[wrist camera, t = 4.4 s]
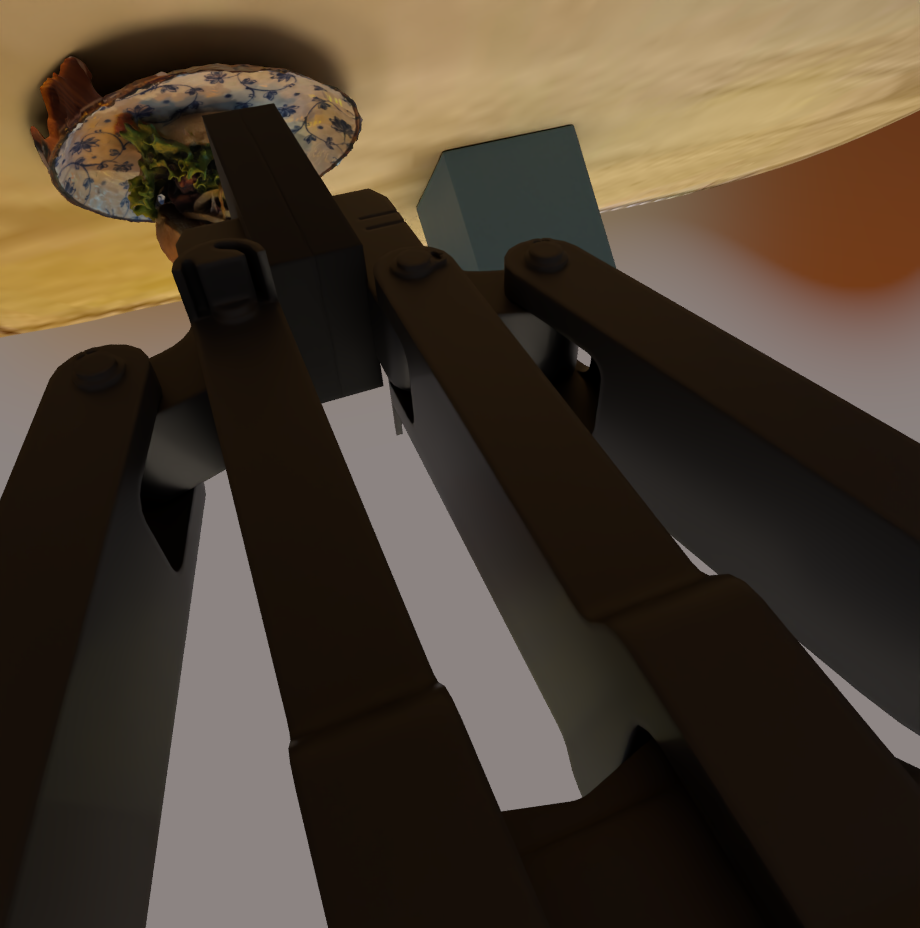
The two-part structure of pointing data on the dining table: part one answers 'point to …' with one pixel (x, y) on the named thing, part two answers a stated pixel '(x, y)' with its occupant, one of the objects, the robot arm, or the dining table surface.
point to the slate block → (512, 199)
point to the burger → (175, 138)
